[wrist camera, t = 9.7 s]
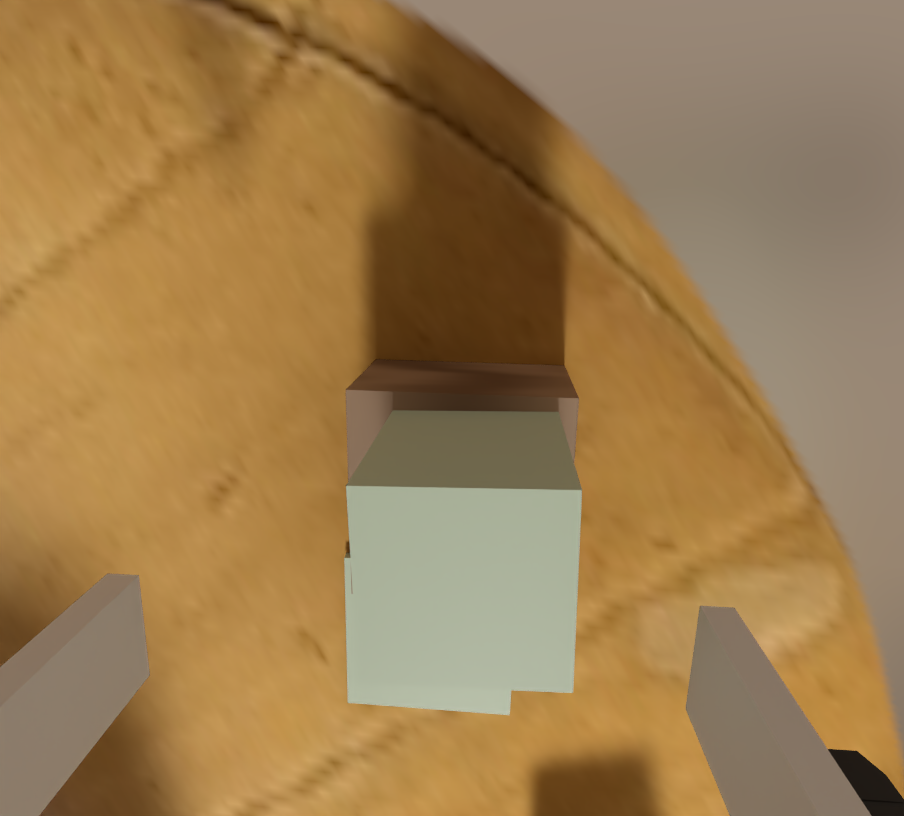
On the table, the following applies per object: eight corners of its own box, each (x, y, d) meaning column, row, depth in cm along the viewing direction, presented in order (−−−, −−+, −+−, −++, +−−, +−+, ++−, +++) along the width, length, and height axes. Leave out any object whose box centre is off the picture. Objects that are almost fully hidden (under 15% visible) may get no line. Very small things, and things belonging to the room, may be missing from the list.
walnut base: (379, 526, 26) (351, 593, 21) (377, 358, 24) (345, 389, 19) (552, 535, 26) (563, 606, 21) (563, 364, 24) (578, 398, 19)
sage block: (398, 558, 21) (358, 683, 15) (392, 410, 20) (346, 485, 14) (553, 562, 20) (572, 692, 15) (558, 412, 19) (581, 490, 13)
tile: (350, 696, 28) (347, 702, 28) (346, 552, 26) (344, 557, 26) (509, 708, 28) (509, 715, 27) (518, 563, 26) (518, 568, 25)
